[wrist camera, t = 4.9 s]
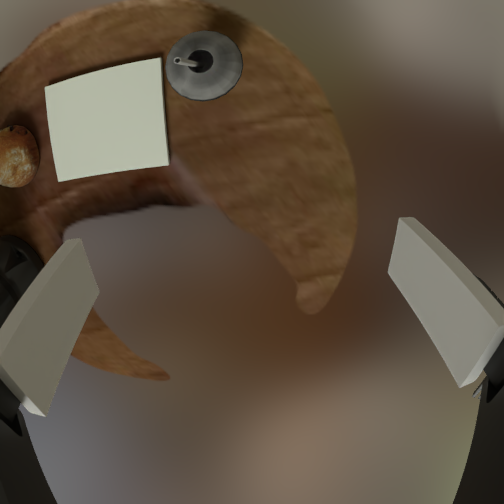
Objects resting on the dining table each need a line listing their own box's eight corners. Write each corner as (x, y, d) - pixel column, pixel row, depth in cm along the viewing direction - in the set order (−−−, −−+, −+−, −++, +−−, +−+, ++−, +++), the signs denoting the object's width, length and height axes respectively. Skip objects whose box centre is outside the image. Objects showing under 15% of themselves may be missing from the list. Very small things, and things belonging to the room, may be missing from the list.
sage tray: (61, 179, 38) (58, 181, 37) (48, 87, 30) (44, 87, 30) (170, 163, 39) (168, 165, 38) (162, 58, 31) (160, 57, 31)
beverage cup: (245, 89, 35) (263, 87, 18) (191, 106, 35) (159, 120, 18) (229, 40, 31) (232, -5, 14) (175, 58, 32) (129, 30, 14)
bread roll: (12, 168, 39) (-8, 200, 34) (-6, 123, 30) (-32, 155, 26) (52, 164, 40) (33, 199, 35) (36, 114, 32) (9, 147, 27)
